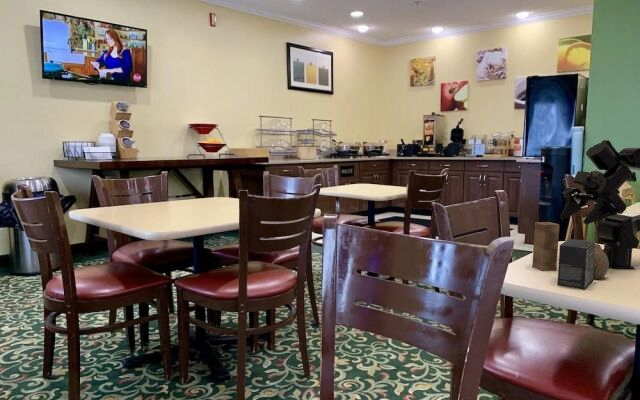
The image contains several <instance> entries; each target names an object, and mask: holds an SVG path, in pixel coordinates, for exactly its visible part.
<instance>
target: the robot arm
mask: <svg viewBox="0 0 640 400" xmlns="http://www.w3.org/2000/svg"><path fill="white" fill-rule="evenodd" d="M585 156H586V157H587V158H588V159H589V160H590V161H591V163H592V164H593V165H594V166H595V167H596V169H597V170H598V171H597V170H596V171H594V172H589V171H583V170H582V171H579V170H578V171H577V172H576V174H575V176H574V178H573V180H572V182H573V183H575V184H578V185H579V186H581V187H582V188H581V189H582V190H583V192H585V193H583V192H582V191H581V189H580V188H577V187H566V188H565V189H564V190H563V191H562V194H563V197H564V198H565V200H566V201H565V204H564V208H563V210H562V212H561V214H560V218H561V220H565V219H568V218H569V217H571V216H572V215H574V214H576V213H577V212H579V211H581V210H582V209H583V207H585V206H586V205H587V203H593V204H595V206H594V208H593V209H592V210H591V211H590V212H589V213H588V215H587V216H586V217H585V218H584V220H583V221H582V222H583V224H584V225H589V224H592V223H594V222H597V221H598V225H597V228H596V233H597V235H598V238H599V241H600V243H601V244H604V245H603V248H602V250H603V251H604V253H605V254H606V255H607V257H608V260H609V268H611V269H624V270H625V269H626V270H627V269H629V270H630V269H633V270H634V269H635V266H633V265H632V255H633V249H637V248H638V247H639V244H640V240H639V239H638V238H637V236H636V235H637V233H639V232H640V214H637V215H634V216H630V215H624V214H623V213H625V211H626V210H627V203H626V202H625V201H624V200H623V198H622V197H621V196H620V193H621V191H620V188H621V187H622V186H623V185H624V184H625V183H626V182H631V183H633V182H635V183H637V176H636V174H637V173H636V171H639V172H640V147H625V148H623V149H621V150H620V151H619V152H618V151H617V150H616V148H615V147H614V145H613V144H612V142H611V141H610V140H609V139H603V140H602V141H601V142H599V143H597V144H594V145H593V146H591V147H589V148H588V149H587V150H586V153H585ZM632 170H634V171H635V172H634V171H632ZM601 171H604V172H601Z"/></svg>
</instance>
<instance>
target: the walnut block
mask: <svg viewBox="0 0 640 400" xmlns="http://www.w3.org/2000/svg"><path fill="white" fill-rule="evenodd" d="M533 233H534V236H533V248H532V249H533V251H532V262H531V263H532V264H531V265H532V267H531V268H533V269H534V270H535V269H536V270H538V271H541V272H556V271H557V270H558V269H557V267H558V255H559V239H560V238H559V236H560V224H558V223H554V222H551V221H536V222H534V231H533Z"/></svg>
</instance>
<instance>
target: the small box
mask: <svg viewBox="0 0 640 400" xmlns="http://www.w3.org/2000/svg"><path fill="white" fill-rule="evenodd" d="M595 244H596V241H595V240H585V239H575V238H568V239H567V240H565V241H564V242H562V243H561V244H559V247H558V265H557V267H558V269H557V270H558V271H557V286H558V287H559V286H560V287H566V288H571V289H577V290H582V291H585V290H586V289H587V288H588V287H590V284H592V282H593V281H594V279H593V263H594V248H595Z"/></svg>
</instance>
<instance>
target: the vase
mask: <svg viewBox="0 0 640 400" xmlns="http://www.w3.org/2000/svg"><path fill="white" fill-rule="evenodd" d="M609 268H610V267H609V260H608V257H607V255H606V254H605V253H604V251H603V248H602V246H601V244H598V243H595V248H594V263H593V280H600V279H603V278H604V277H605V276H606V275H607V274H608V271H609Z"/></svg>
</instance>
